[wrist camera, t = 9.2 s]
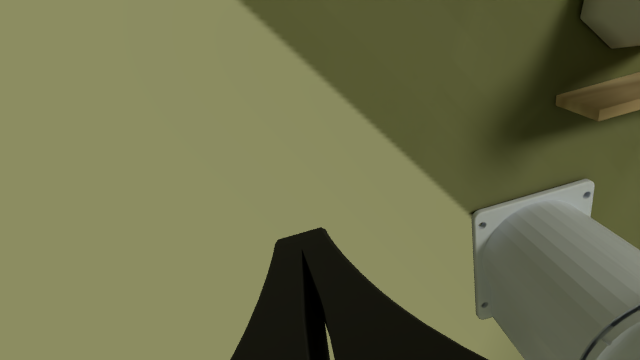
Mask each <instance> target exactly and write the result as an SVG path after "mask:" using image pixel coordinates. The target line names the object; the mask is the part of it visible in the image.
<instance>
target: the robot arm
mask: <svg viewBox="0 0 640 360" xmlns="http://www.w3.org/2000/svg"><path fill="white" fill-rule="evenodd" d="M584 193H585V194H584ZM593 193H594V183H593V182H592V181H591V180H589V179H583V180H580V181H576V182H573V183H569V184H566V185H562V186H559V187H556V188H552V189H549V190H545V191H542V192H538V193H535V194H532V195H528V196H525V197H521V198H518V199H514V200H511V201H507V202H504V203H501V204H497V205H494V206H490V207H487V208H483V209H480V210H478V211H476V212H475V213H474V214H473V215H472V236H473V258H474V278H475V302H476V315H477V316H478V317H479V319H487V318H491V317H493V318H494V319H495V320H496V322H497V323H498V324H499V326H500V327H501V328H502V330H503V331H504V332H505V334H506V335H507V336H508V338H509V339H510V340H511V342H512V343H513V344H514V346H515V347H516V349H517V350H518V351H519V353H520V354H521V355H522V357H523V358H524V359H525V360H640V250H639V249H637V248H636V247H634V246H633V245H631V244H630V243H628V242H627V241H625V240H624V239H622V238H621V237H619V236H618V235H616V234H615V233H613V232H612V231H610V230H609V229H607V228H606V227H604V226H603V225H601V224H600V223H598V222H597V221H595V220H594V219H592V218H591V217H590V216H591V208H592V200H593ZM482 222H483V223H482ZM480 223H482V224H481V225H480V226H479V224H480ZM325 324H326V327H327V330H328V332H329V336H330V339H331V344H332V349H333V353H334V358H335V360H488V359H486V358H484V357H482V356H480V355H478V354H476V353H475V352H473V351H471V350H469V349H467V348H465V347H463V346H461V345H460V344H458V343H456V342H455V341H453V340H451V339H450V338H448V337H446V336H445V335H443V334H441V333H440V332H438V331H436V330H435V329H433V328H431V327H430V326H428V325H426V324H425V323H423V322H422V321H420V320H419V319H417V318H416V317H415V316H413V315H412V314H410V313H409V312H407V311H406V310H404V309H403V308H402V307H401V306H399V305H398V304H396V303H395V302H393V300H391V299H390V298H389V297H388V296H386V295H385V294H384V293H382V291H380V290H379V289H378V288H377V287H375V285H373V284H372V283H371V282H370V281H369V280H368V279H367V278H366V277H365V276H364V275H362V273H360V272H359V270H358V269H356V268H355V266H354V265H353V264H352V263H351V262H350V261H349V260H348V259H347V258H346V257H345V256H344V255H343V254H342V252H341V251H340V250H339V249H338V248H337V246H336V245H335V244H334V242H333V241H332V240H331V238H330V237H329V235H328V234H327V231H326V230H325V229H323V228H317V229H313V230H310V231H307V232H303V233H300V234H296V235H293V236H289V237H286V238H282V239H279V240H277V242H276V244H275V248H274V252H273V257H272V260H271V264H270V267H269V271H268V274H267V277H266V280H265V283H264V286H263V289H262V291H261V294H260V297H259V300H258V302H257V304H256V307H255V309H254V312H253V314H252V316H251V319H250V321H249V323H248V326H247V328H246V330H245V332H244V334H243V336H242V338H241V340H240V342H239V344H238V346H237V348H236V350H235V352H234V354H233V356H232V358H231V359H230V360H330V358H329V350H328V343H327V336H326V328H325Z"/></svg>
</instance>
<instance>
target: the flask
mask: <svg viewBox="0 0 640 360" xmlns="http://www.w3.org/2000/svg"><path fill="white" fill-rule="evenodd" d="M580 19H581V20H582V21H583V22H584V23H585V24H587V25H588V26H589V27H590V28H591V29H592V30H593V31H594V32H595V33H596V34H597V35H598V36H599V37H600V38H601V39H602V40H603V41H604V42H605V43H606V44H607V45H608V46H609V47H610V48H611V49H615V48H623V47H632V46H640V0H584V2H583V7H582V12H581V16H580Z"/></svg>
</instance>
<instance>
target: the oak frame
mask: <svg viewBox="0 0 640 360" xmlns="http://www.w3.org/2000/svg"><path fill="white" fill-rule="evenodd" d="M556 106H558V107H561V108H564V109H566V110H569V111H572V112H574V113H577V114H580V115H582V116H585V117H588V118H590V119H593V120H596V121H602V120H605V119H609V118H612V117H616V116H619V115H623V114H626V113H630V112H633V111H637V110H640V72H638V73H634V74H630V75H627V76H623V77H620V78H616V79H613V80H609V81H605V82H602V83H598V84H595V85H591V86H588V87H584V88H580V89H577V90H573V91H570V92H566V93H563V94H559V95H556Z"/></svg>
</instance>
